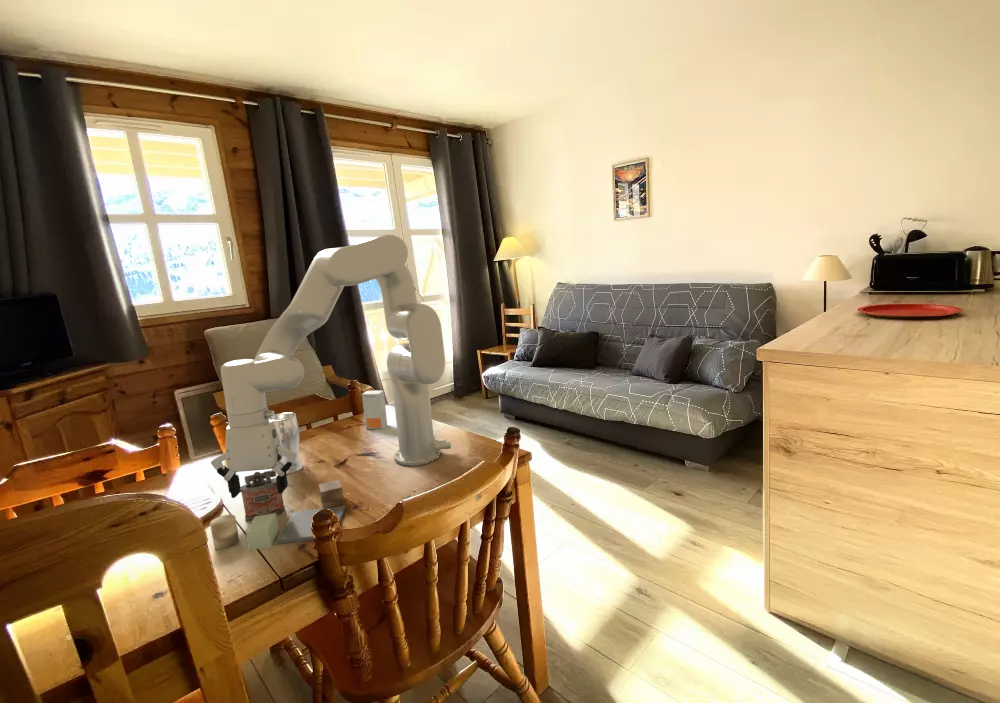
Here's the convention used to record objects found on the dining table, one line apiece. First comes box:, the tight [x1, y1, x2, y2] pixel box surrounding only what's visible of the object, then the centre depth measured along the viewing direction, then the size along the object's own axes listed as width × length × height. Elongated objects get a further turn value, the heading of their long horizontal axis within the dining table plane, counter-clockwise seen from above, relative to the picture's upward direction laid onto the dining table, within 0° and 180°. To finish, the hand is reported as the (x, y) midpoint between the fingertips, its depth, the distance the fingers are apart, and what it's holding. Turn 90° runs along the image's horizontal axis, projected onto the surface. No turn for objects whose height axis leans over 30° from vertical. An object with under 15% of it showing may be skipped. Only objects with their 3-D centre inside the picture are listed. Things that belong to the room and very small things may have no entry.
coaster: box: [275, 505, 346, 545], centre depth 102 cm, size 11×11×1 cm
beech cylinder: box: [209, 514, 240, 551], centre depth 97 cm, size 4×4×5 cm
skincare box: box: [361, 389, 388, 430], centre depth 158 cm, size 6×4×12 cm
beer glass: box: [269, 411, 303, 475], centre depth 129 cm, size 7×7×15 cm
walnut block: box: [318, 479, 345, 509], centre depth 110 cm, size 4×4×4 cm
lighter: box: [240, 469, 286, 523], centre depth 106 cm, size 8×3×10 cm, turn 114°
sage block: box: [245, 513, 280, 551], centre depth 97 cm, size 4×6×4 cm
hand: (259, 492), depth 106 cm, fingers open, 9 cm apart
